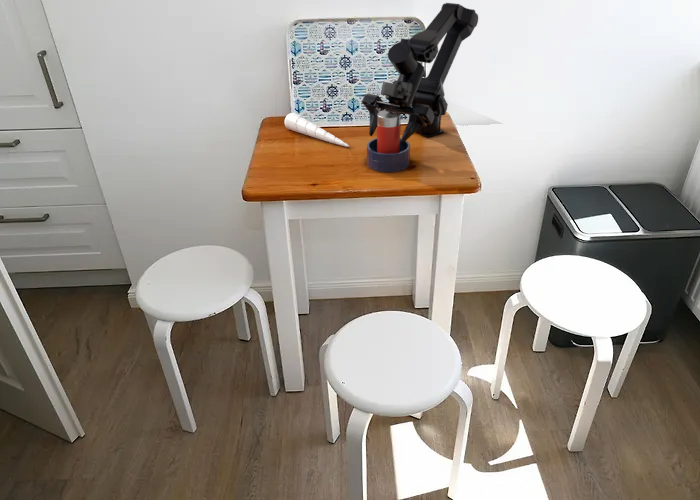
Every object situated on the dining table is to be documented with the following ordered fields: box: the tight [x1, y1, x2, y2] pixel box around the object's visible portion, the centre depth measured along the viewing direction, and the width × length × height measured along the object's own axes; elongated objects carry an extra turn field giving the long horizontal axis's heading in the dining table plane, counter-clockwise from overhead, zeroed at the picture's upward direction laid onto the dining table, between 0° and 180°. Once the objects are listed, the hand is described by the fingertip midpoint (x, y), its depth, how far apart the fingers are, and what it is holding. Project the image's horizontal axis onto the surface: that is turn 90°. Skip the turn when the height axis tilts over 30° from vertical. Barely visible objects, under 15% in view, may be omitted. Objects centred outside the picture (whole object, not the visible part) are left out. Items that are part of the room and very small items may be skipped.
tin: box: [376, 109, 402, 154], centre depth 148 cm, size 6×6×13 cm
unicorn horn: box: [284, 112, 350, 148], centre depth 165 cm, size 5×24×5 cm, turn 45°
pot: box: [366, 137, 411, 173], centre depth 151 cm, size 11×11×5 cm
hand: (385, 139), depth 147 cm, fingers open, 9 cm apart
